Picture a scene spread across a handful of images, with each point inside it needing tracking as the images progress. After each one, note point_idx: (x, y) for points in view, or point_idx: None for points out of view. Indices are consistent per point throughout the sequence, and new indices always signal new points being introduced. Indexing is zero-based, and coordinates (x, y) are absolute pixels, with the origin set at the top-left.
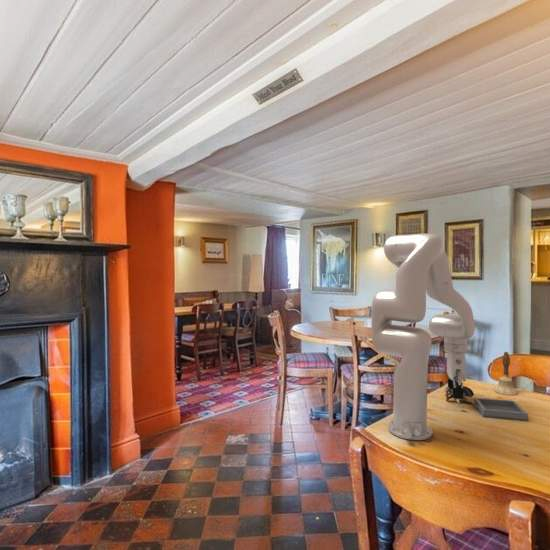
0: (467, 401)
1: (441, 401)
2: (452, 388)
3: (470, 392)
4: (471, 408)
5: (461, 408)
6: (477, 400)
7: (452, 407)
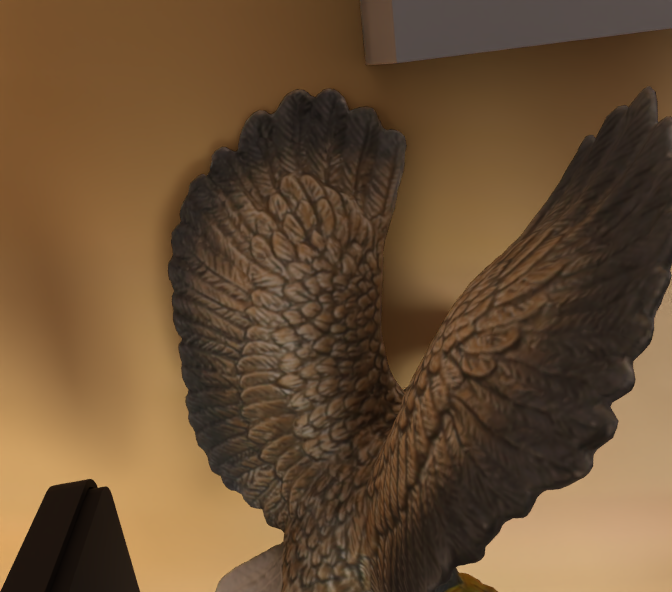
0: (393, 204)
1: None
2: (128, 587)
3: (620, 201)
4: None
5: (665, 308)
6: (617, 4)
7: (649, 432)
